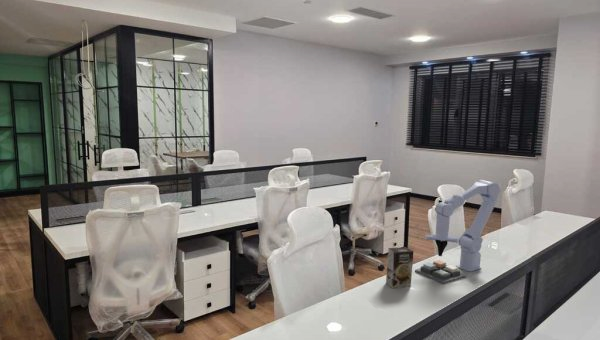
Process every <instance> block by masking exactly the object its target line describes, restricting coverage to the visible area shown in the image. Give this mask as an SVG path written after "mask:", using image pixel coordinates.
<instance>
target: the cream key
mask: <svg viewBox="0 0 600 340" xmlns="http://www.w3.org/2000/svg"><path fill="white" fill-rule="evenodd" d="M445 270H447V271H450V272H452V273H453V272H457V271H458V270H459V268H458V267H456V265H451V264H450V265H447V266H445Z"/></svg>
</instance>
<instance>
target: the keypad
mask: <svg viewBox="0 0 600 340" xmlns="http://www.w3.org/2000/svg"><path fill="white" fill-rule="evenodd" d="M446 266H448V265H447V264H446ZM438 270H443V271H445V272H447V273H448V274H446V275H440V274H438V273H435V271H438ZM414 271H415V272H416V274H417V273H418V274H420V275H422V276H423V277H426V278H428V279H430V280H432V281H435V282H437V283H439V284H441V285H445V284H447V283H451V282H454V281H455V282H456V281H458V280H461V279H465V278H467V275H466V274H464V273H461V271H462V270H459V269H458V271H457V272H453V273H452V272H450V271H447V270H445V266H444V267H438V266H436V269H432V270H428V269H426V268H424V267H423V265H421V266H420V268H417V269H414Z"/></svg>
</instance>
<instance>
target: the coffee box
mask: <svg viewBox="0 0 600 340" xmlns="http://www.w3.org/2000/svg"><path fill="white" fill-rule="evenodd" d="M387 252H388V253H387V261H386V262H387V265H386V277H385V279H386V280H385V283H386V284H387V285H388V286H389V287H390V288H391V289H398V288H399V289H401V288H411V287H412V277H413V275H412V274H413V263H414V250H412V249H410V248H408V247H407V246H402V247H388V251H387Z"/></svg>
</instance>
